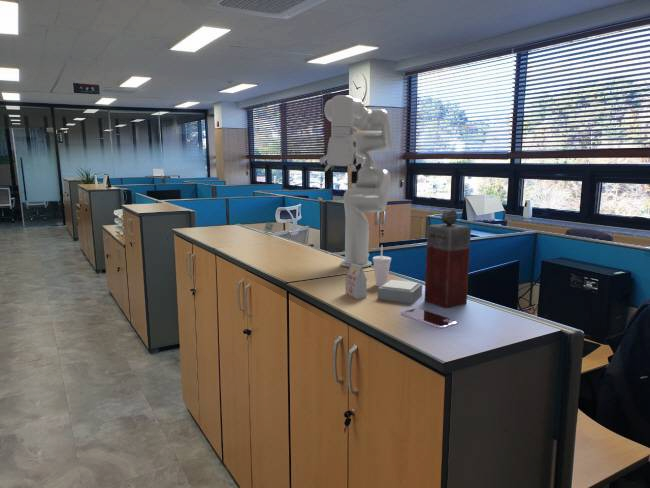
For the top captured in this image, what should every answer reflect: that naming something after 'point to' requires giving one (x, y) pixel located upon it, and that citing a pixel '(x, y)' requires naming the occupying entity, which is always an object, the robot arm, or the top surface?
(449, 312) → the top surface
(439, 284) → the red square canister
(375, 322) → the top surface
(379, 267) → the smoothie
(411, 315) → the mobile phone
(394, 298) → the plinth
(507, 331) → the top surface
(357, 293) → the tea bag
